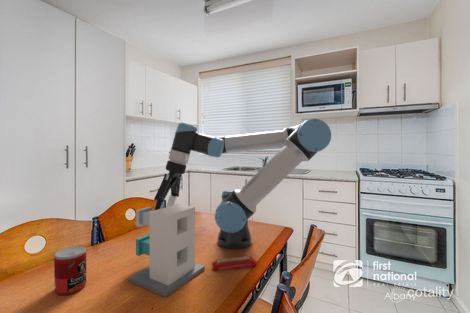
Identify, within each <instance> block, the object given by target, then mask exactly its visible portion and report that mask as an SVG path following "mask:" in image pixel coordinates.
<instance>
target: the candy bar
mask: <svg viewBox="0 0 470 313" xmlns="http://www.w3.org/2000/svg"><path fill="white" fill-rule="evenodd" d="M257 264H258V263H257V260H256V259H254V257H253V256H251V255H245V256H238V257H237V256H236V257H235V256H234V257H229V258H221V259H215V260H214V261H213V262H211V267H212V270H215V271H225V270H234V269H241V268H249V267H254V266H255V265H257Z"/></svg>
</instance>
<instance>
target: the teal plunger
mask: <svg viewBox="0 0 470 313" xmlns="http://www.w3.org/2000/svg"><path fill="white" fill-rule="evenodd" d="M142 255H146V256H149V257H150V233H148V234H146V235H145V234H144V235H142V236H140V237H137V238H135V256H138V257H141V256H142Z"/></svg>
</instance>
